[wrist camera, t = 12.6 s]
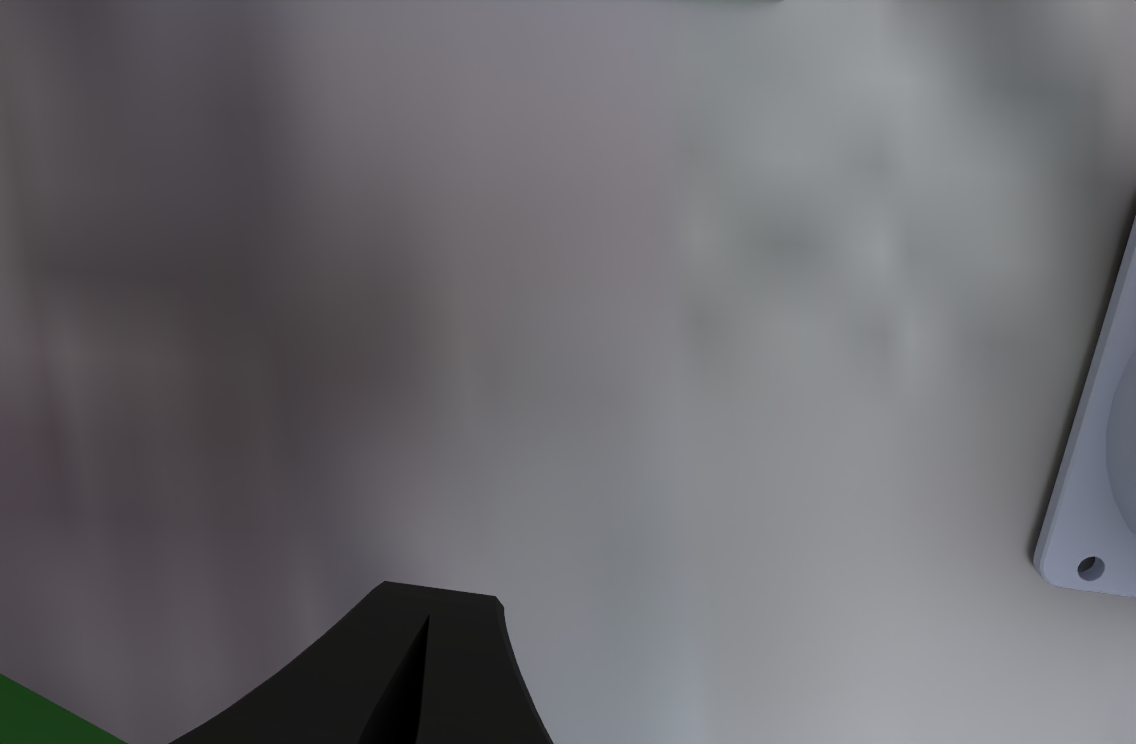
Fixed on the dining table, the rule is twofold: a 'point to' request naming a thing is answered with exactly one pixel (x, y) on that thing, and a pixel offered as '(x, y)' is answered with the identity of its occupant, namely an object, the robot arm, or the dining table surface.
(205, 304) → the dining table surface
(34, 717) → the hardback book
